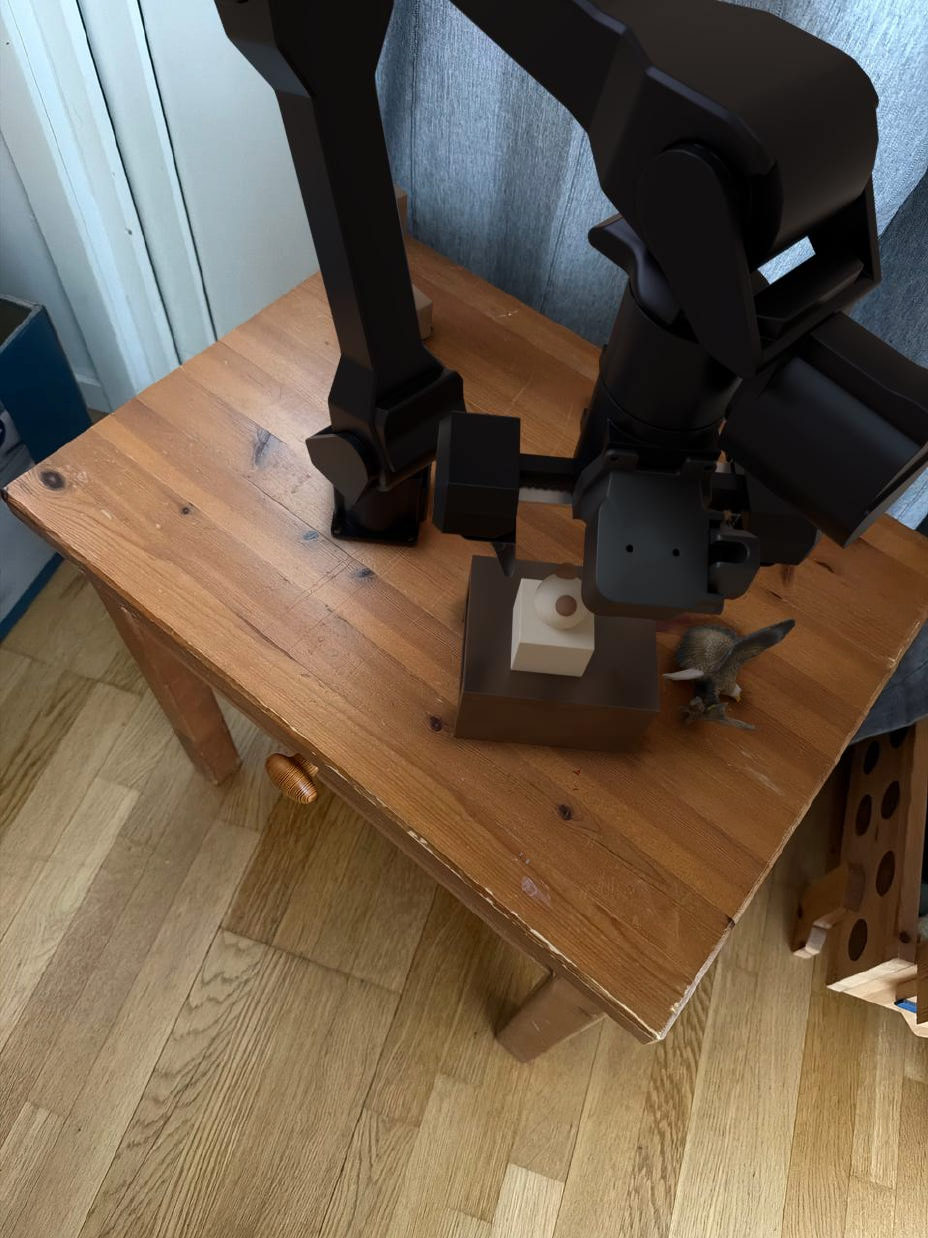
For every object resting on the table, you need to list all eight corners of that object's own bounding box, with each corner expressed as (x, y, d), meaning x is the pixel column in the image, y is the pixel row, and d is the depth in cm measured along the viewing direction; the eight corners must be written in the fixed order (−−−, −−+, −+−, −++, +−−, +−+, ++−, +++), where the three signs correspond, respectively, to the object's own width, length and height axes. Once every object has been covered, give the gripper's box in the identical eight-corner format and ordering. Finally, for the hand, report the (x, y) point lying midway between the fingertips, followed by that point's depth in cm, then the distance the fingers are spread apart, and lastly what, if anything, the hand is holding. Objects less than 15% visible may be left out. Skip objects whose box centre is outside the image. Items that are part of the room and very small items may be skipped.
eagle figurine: (769, 757, 60) (811, 642, 63) (741, 709, 55) (788, 586, 57) (665, 730, 64) (708, 624, 67) (631, 684, 59) (679, 572, 62)
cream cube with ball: (510, 670, 55) (528, 613, 49) (513, 608, 57) (530, 546, 51) (581, 677, 55) (607, 621, 49) (581, 615, 57) (606, 554, 51)
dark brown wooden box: (453, 737, 60) (462, 692, 54) (462, 608, 65) (472, 554, 59) (630, 754, 60) (660, 711, 54) (626, 625, 65) (653, 573, 59)
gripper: (436, 513, 33) (415, 691, 47) (920, 558, 34) (764, 719, 48) (451, 305, 39) (429, 518, 52) (867, 350, 40) (740, 547, 53)
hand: (588, 577), depth 51 cm, fingers open, 9 cm apart
